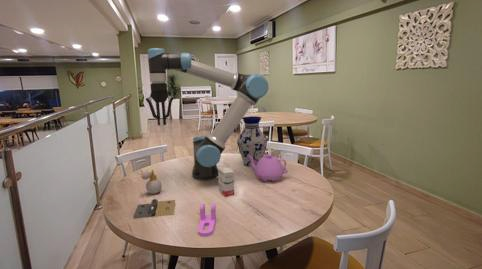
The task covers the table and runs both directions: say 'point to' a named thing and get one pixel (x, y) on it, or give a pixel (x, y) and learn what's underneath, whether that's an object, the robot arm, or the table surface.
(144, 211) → the steel leaf
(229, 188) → the ink box
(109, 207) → the table surface
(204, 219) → the bracket
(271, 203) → the table surface
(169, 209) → the plate
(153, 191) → the perfume bottle
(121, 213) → the table surface
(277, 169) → the teapot
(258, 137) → the vase
